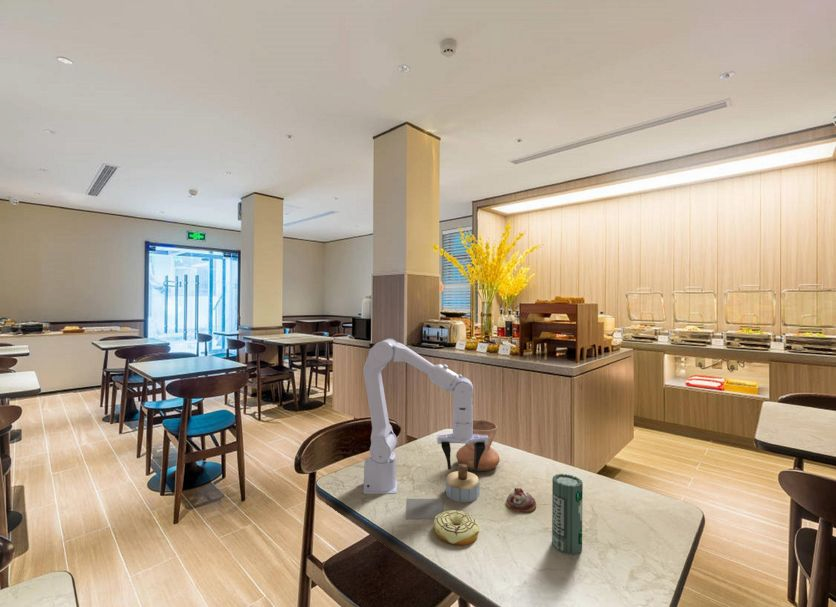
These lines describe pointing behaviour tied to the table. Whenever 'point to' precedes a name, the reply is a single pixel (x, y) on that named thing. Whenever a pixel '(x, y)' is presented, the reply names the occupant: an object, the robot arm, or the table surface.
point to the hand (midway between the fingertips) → (462, 468)
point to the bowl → (462, 493)
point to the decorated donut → (456, 527)
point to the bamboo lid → (462, 478)
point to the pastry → (521, 501)
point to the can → (567, 513)
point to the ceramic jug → (489, 455)
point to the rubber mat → (424, 508)
